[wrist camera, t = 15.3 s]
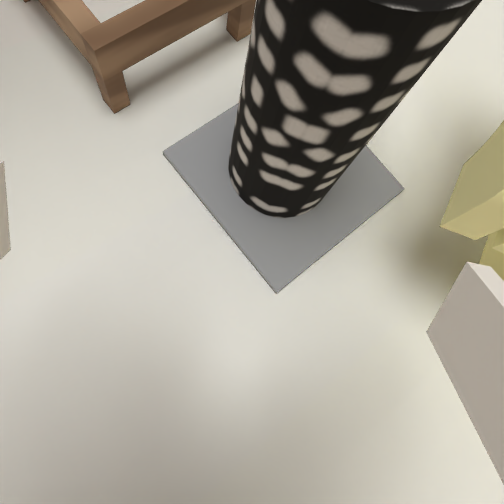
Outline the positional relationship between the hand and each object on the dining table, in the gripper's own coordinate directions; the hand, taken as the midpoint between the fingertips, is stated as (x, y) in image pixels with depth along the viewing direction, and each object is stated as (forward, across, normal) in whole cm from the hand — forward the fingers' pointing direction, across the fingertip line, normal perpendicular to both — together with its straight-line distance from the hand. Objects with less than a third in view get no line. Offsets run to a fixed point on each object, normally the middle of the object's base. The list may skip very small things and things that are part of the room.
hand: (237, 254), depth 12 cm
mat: (+22, +4, -5) cm, 23 cm away
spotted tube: (+22, +3, -4) cm, 23 cm away
